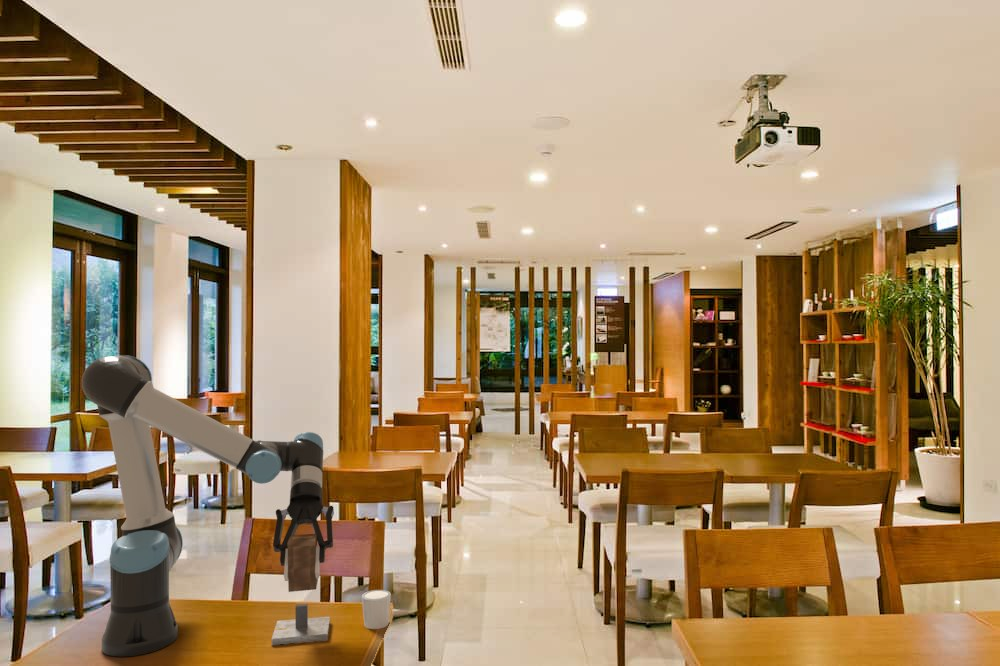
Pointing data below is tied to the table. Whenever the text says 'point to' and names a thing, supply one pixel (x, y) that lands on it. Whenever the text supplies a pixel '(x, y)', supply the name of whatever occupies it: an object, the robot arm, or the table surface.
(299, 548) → the brown slotted box
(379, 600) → the white cup
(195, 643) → the table surface
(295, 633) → the grey stand base
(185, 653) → the table surface
